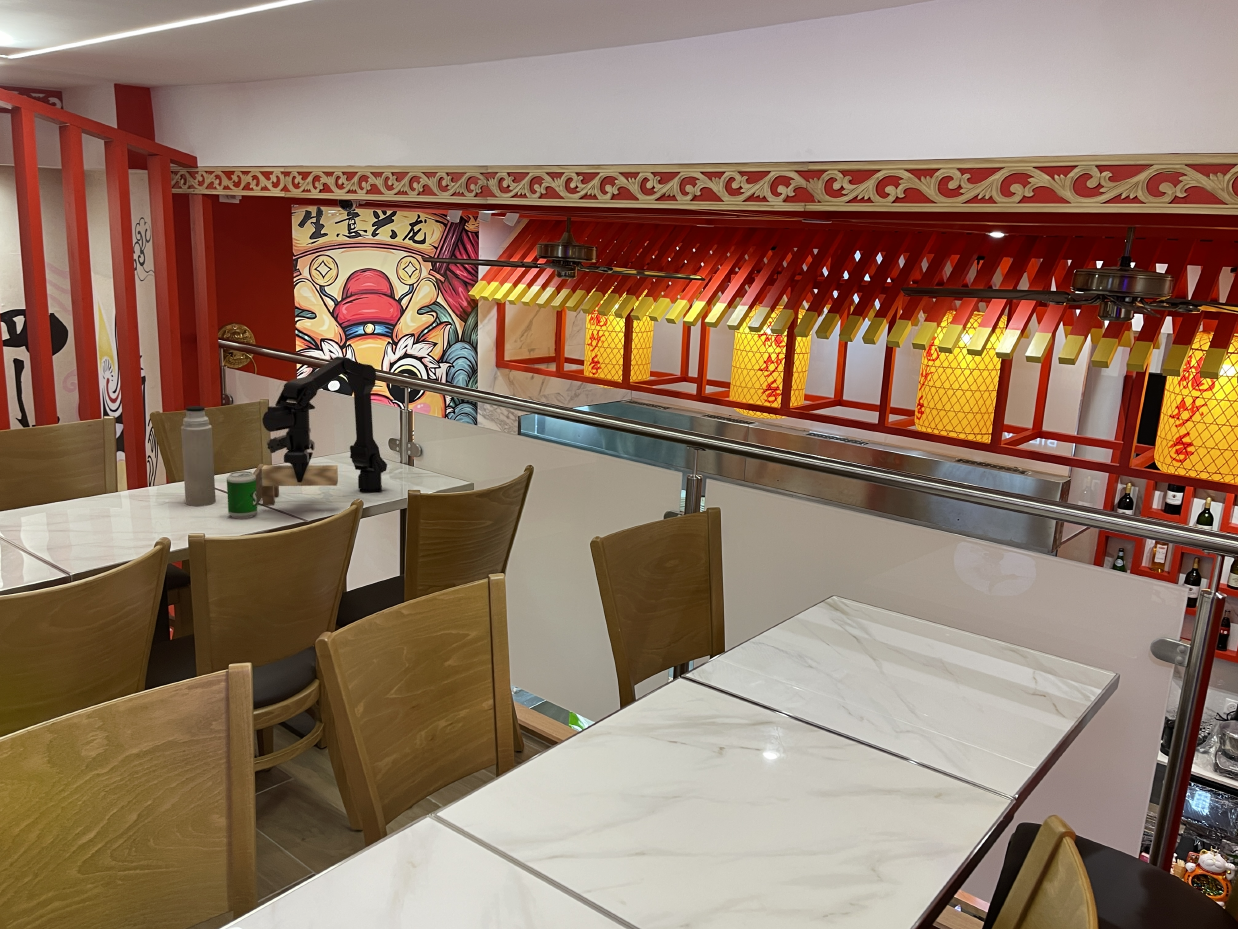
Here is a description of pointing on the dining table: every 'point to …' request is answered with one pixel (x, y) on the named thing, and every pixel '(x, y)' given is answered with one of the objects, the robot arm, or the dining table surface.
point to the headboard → (265, 490)
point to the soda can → (242, 494)
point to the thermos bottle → (198, 458)
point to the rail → (287, 477)
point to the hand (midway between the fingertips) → (300, 480)
